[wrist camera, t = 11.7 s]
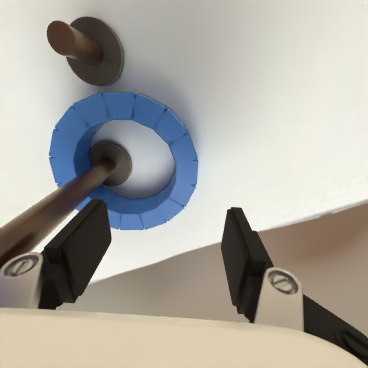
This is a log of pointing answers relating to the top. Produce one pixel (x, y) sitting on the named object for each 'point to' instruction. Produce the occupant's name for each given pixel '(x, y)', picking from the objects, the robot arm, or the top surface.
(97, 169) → the tall peg
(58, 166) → the segmented ring
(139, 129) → the top surface
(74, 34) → the short peg
